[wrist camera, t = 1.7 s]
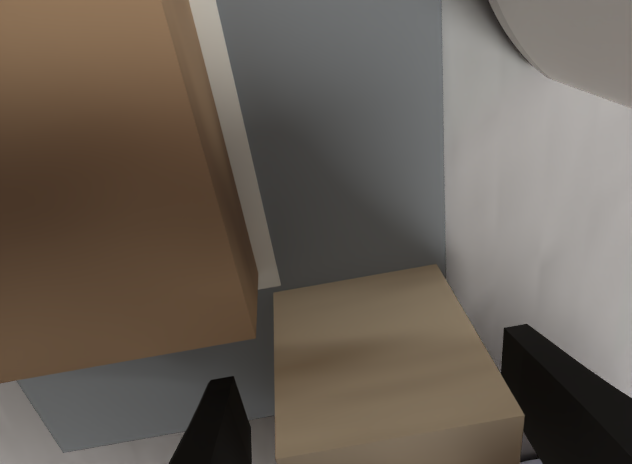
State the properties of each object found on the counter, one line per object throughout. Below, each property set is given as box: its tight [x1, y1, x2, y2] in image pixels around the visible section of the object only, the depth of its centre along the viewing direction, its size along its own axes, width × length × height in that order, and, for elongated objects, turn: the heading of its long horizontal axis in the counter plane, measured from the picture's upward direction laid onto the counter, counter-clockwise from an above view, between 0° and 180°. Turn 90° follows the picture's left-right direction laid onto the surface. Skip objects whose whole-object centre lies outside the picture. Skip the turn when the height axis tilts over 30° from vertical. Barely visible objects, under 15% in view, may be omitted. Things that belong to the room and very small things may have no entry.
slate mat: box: [16, 0, 446, 453], centre depth 12 cm, size 14×12×1 cm
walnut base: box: [0, 0, 258, 383], centre depth 9 cm, size 7×7×2 cm
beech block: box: [273, 264, 525, 464], centre depth 12 cm, size 4×4×5 cm
